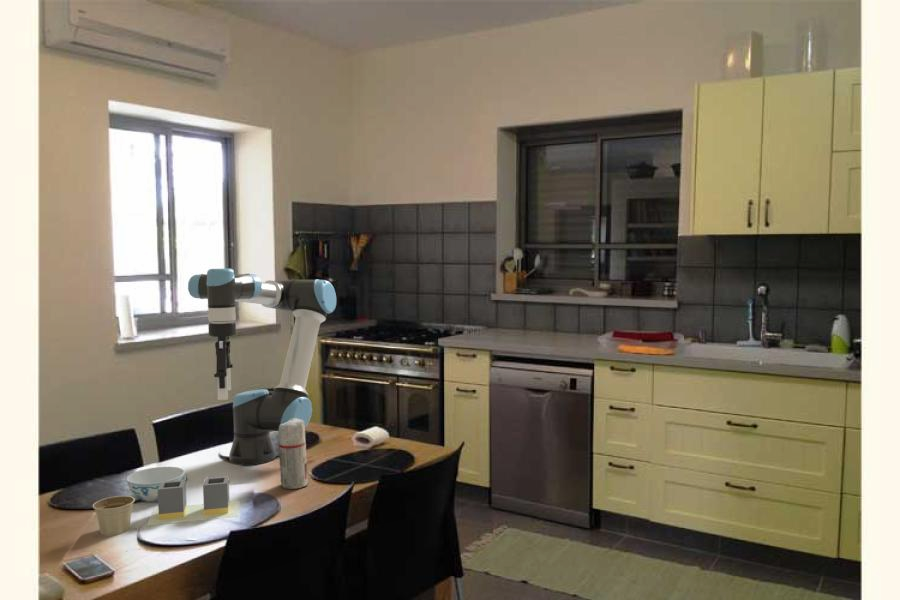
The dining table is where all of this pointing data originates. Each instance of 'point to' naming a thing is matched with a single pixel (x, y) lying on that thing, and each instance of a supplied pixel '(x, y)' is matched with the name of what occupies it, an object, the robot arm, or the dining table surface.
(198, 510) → the pin board
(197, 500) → the dining table surface
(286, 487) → the spray can
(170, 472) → the chinaware
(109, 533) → the flower pot
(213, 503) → the sleeve
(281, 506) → the dining table surface
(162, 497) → the sleeve seated
